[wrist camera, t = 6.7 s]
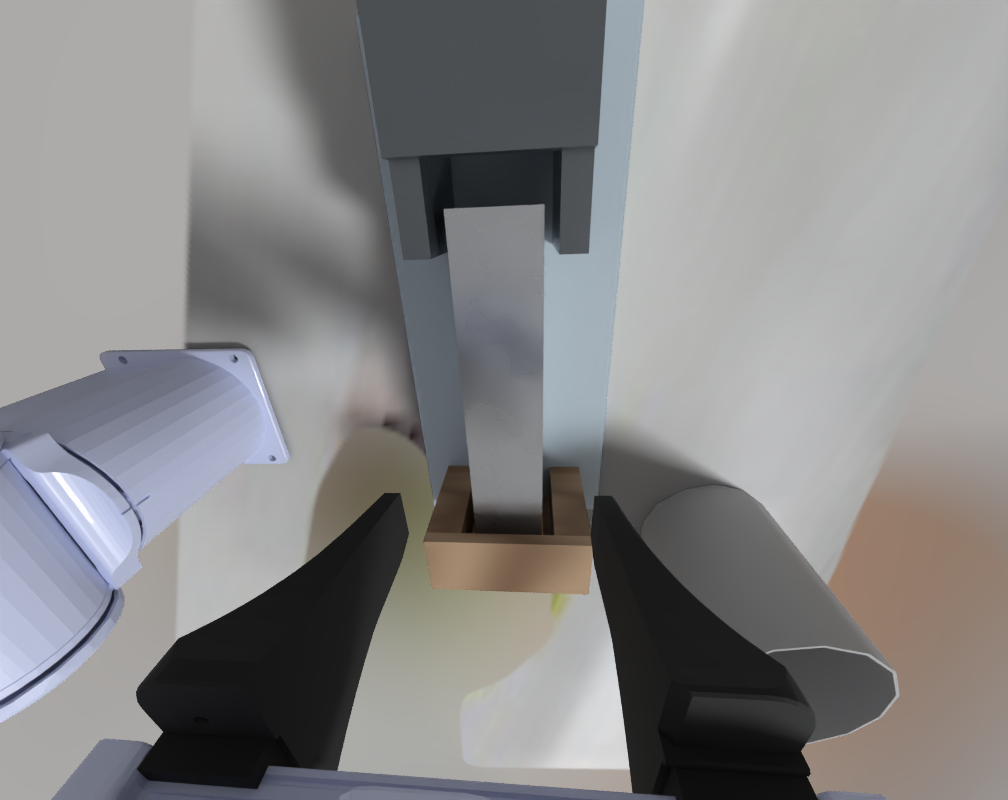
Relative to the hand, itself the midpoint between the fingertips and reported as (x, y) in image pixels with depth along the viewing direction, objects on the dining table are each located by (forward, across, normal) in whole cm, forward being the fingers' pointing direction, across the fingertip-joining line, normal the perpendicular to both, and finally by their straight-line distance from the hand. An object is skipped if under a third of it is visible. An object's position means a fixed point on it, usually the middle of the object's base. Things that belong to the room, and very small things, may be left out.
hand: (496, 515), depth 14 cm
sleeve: (+9, 0, -13) cm, 16 cm away
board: (+9, 0, -5) cm, 11 cm away
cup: (+10, -13, +10) cm, 19 cm away
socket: (+9, 0, +6) cm, 11 cm away
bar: (+9, 0, -2) cm, 9 cm away
